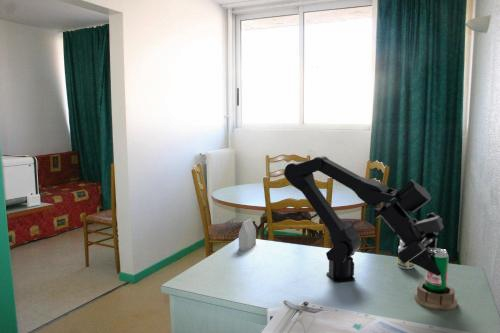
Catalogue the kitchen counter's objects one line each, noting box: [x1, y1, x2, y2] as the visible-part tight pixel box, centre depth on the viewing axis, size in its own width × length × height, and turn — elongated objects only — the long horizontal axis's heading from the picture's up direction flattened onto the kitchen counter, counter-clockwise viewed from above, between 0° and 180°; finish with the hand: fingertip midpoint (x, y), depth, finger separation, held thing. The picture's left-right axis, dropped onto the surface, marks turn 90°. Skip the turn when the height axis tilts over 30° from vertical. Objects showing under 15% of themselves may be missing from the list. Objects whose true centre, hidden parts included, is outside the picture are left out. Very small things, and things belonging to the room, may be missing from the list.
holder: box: [414, 281, 458, 311], centre depth 105 cm, size 10×10×4 cm
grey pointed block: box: [238, 218, 257, 251], centre depth 148 cm, size 4×7×10 cm, turn 154°
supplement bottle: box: [397, 239, 415, 270], centre depth 128 cm, size 5×5×8 cm
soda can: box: [424, 247, 449, 294], centre depth 104 cm, size 5×5×12 cm
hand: (442, 271), depth 103 cm, fingers closed on soda can, 5 cm apart
